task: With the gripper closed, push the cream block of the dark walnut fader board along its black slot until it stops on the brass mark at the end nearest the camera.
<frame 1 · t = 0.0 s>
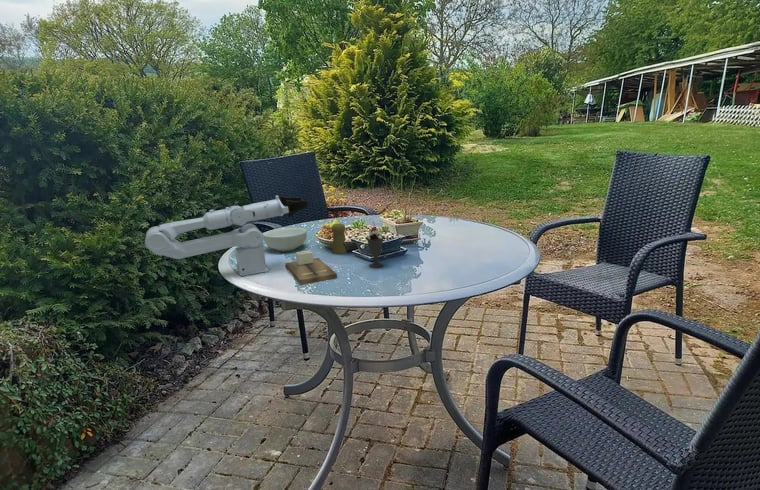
hand: (304, 202, 156), 22 cm above the table, tool horizontal, fingers open, 7 cm apart
olive brown pepper mill: (339, 252, 172), on the table
cream block: (304, 257, 154), point 4 cm above the table, slide at 0.0 cm
cereal bowl: (286, 249, 180), on the table
sundae: (376, 266, 154), on the table
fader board: (310, 272, 150), on the table
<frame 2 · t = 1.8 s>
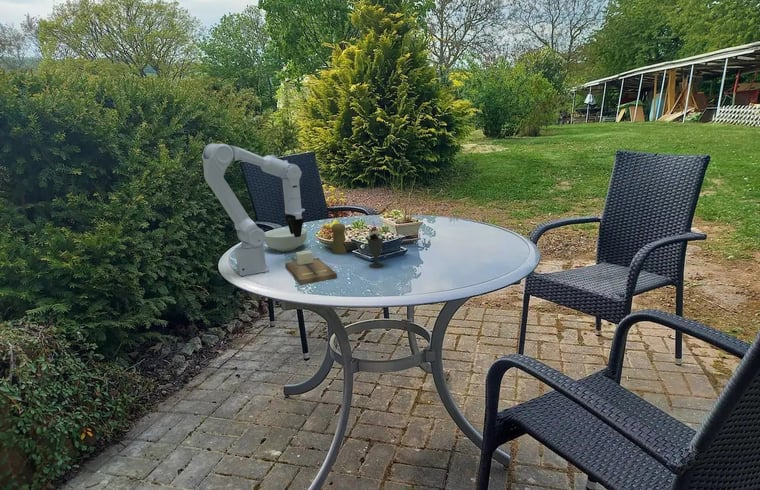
hand: (295, 235, 161), 9 cm above the table, tool pointing down, fingers open, 5 cm apart
nothing on the table moved.
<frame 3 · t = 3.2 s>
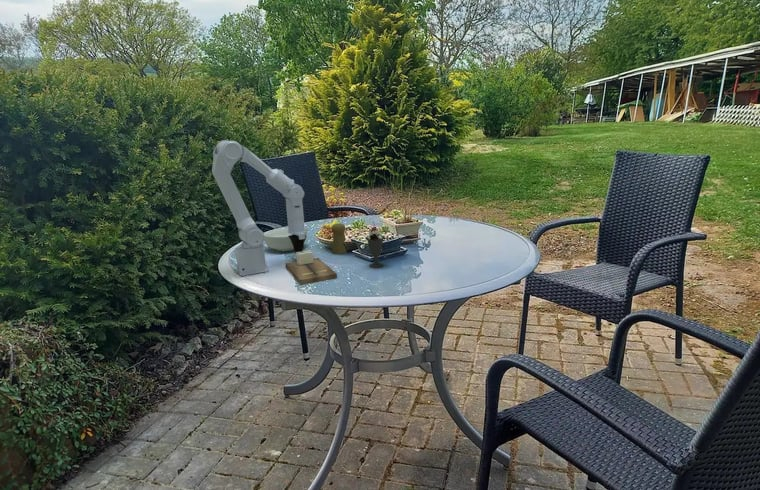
hand: (298, 254, 161), 3 cm above the table, tool pointing down, fingers closed
nothing on the table moved.
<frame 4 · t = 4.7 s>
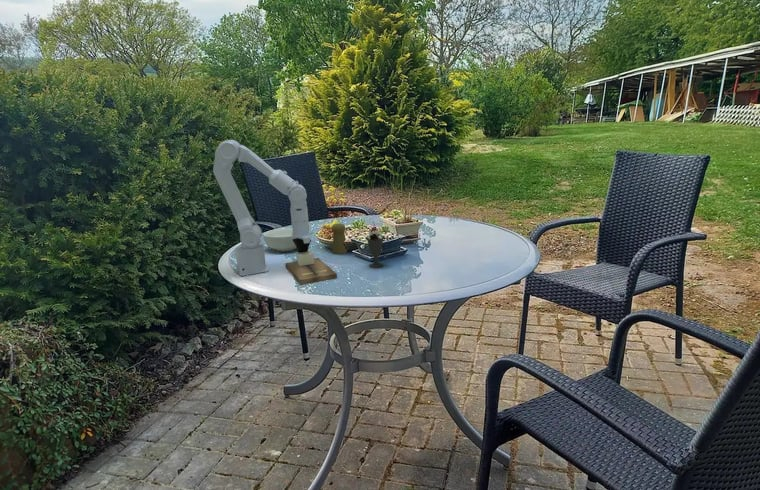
hand: (303, 258, 156), 3 cm above the table, tool pointing down, fingers closed
cream block: (305, 258, 153), point 4 cm above the table, slide at 1.1 cm, touching gripper
everything else where it was.
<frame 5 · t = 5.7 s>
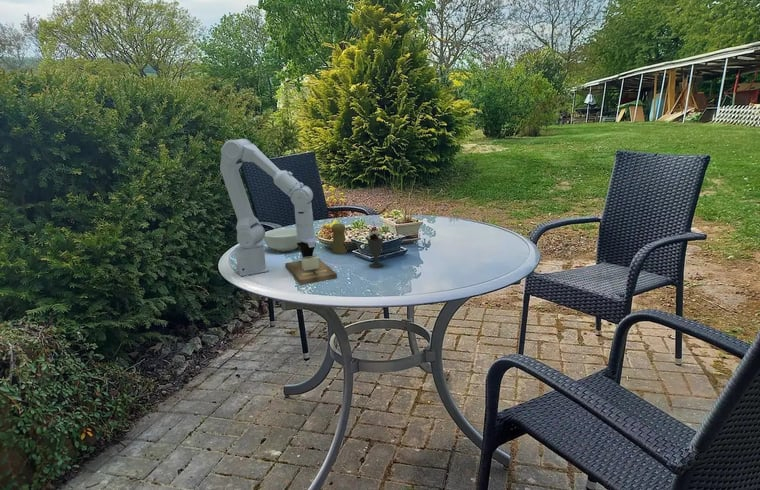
hand: (308, 263, 151), 3 cm above the table, tool pointing down, fingers closed
cream block: (310, 262, 148), point 4 cm above the table, slide at 6.9 cm, touching gripper
everything else where it was.
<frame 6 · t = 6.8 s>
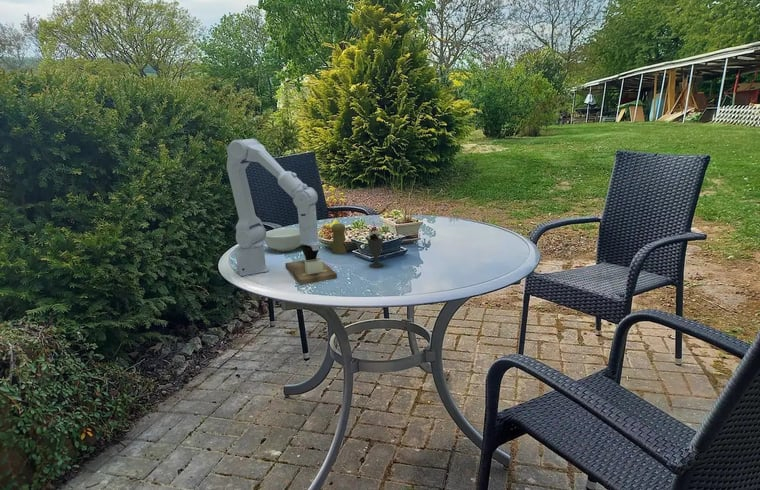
hand: (311, 266, 147), 3 cm above the table, tool pointing down, fingers closed
cream block: (313, 266, 144), point 4 cm above the table, slide at 11.2 cm, touching gripper
everything else where it was.
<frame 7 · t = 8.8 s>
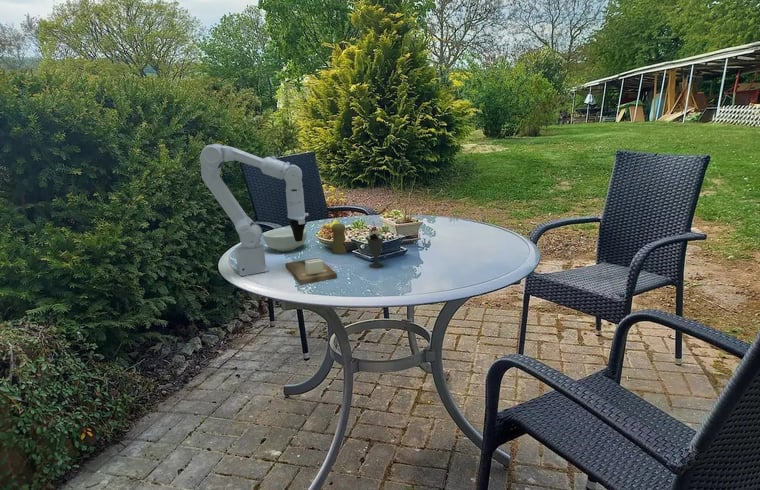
hand: (298, 240, 154), 9 cm above the table, tool pointing down, fingers closed
cream block: (314, 266, 144), point 4 cm above the table, slide at 11.5 cm
everything else where it was.
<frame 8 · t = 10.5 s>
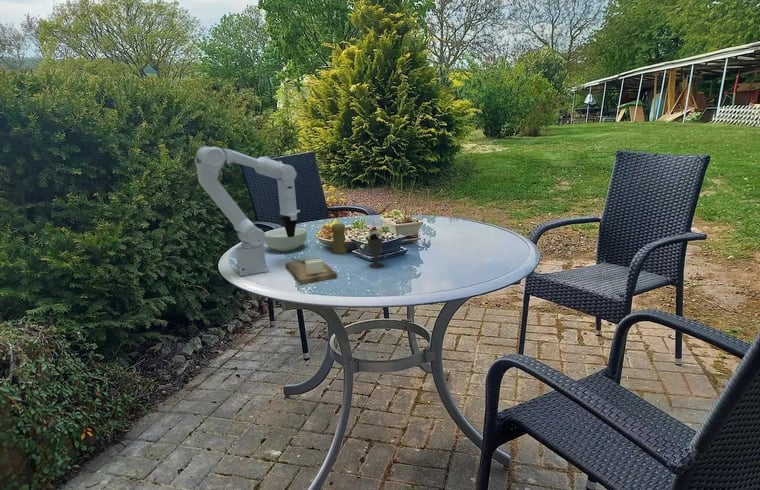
hand: (290, 236, 160), 9 cm above the table, tool pointing down, fingers closed
nothing on the table moved.
at the end: cream block slide at 11.5 cm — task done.
